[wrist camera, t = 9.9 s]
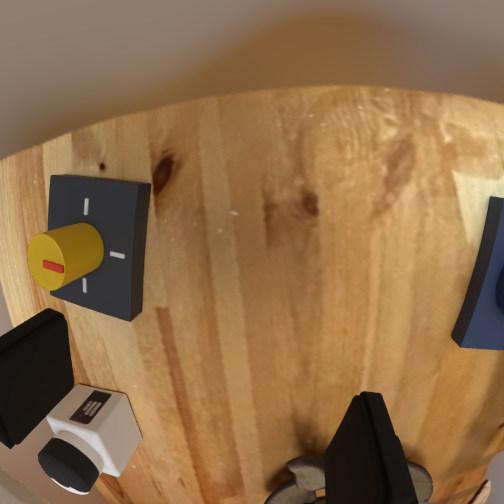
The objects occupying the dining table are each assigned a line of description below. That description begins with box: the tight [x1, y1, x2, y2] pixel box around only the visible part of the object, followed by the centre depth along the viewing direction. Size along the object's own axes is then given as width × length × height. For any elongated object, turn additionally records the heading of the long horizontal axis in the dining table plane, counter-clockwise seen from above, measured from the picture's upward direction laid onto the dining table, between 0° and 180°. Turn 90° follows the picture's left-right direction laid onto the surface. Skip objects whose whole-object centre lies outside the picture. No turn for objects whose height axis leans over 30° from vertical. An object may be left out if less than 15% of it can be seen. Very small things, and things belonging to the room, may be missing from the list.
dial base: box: [48, 175, 151, 322], centre depth 26 cm, size 12×10×3 cm
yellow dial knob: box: [27, 223, 104, 291], centre depth 22 cm, size 4×4×6 cm
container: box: [38, 384, 142, 495], centre depth 26 cm, size 8×8×13 cm
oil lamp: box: [264, 455, 433, 504], centre depth 27 cm, size 22×30×8 cm
